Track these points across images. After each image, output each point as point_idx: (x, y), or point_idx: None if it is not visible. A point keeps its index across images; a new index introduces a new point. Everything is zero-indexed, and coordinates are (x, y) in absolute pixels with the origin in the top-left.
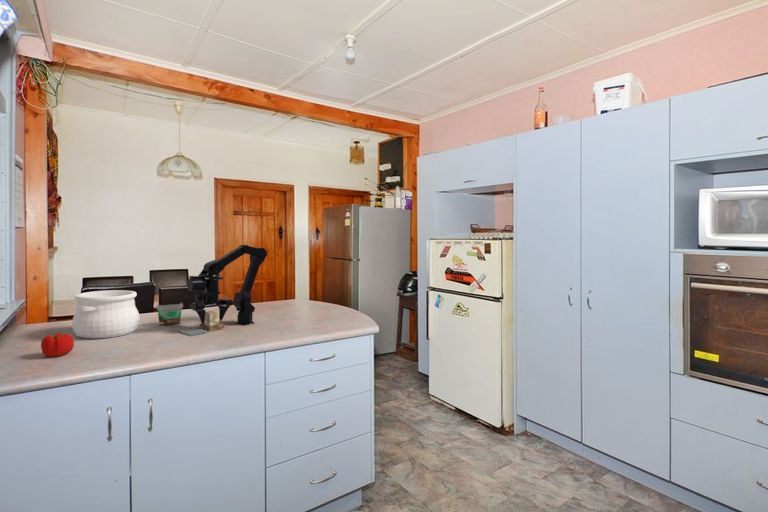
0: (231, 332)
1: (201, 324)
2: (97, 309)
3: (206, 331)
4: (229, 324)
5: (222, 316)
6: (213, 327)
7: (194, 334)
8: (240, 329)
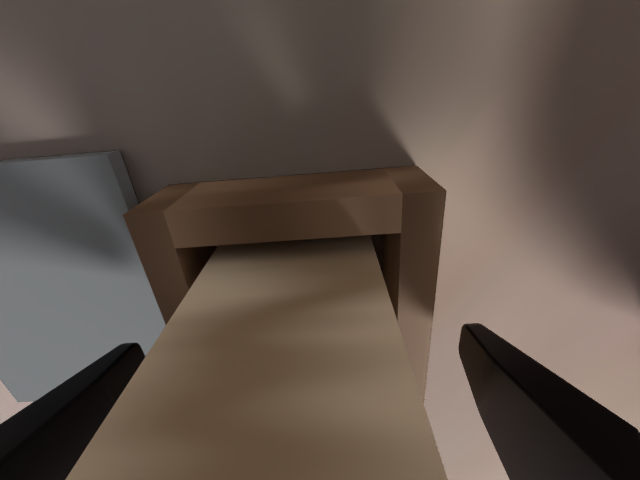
0: None
1: (146, 271)
2: None
3: None
4: (631, 203)
5: (506, 455)
6: None
7: None
8: (484, 442)
